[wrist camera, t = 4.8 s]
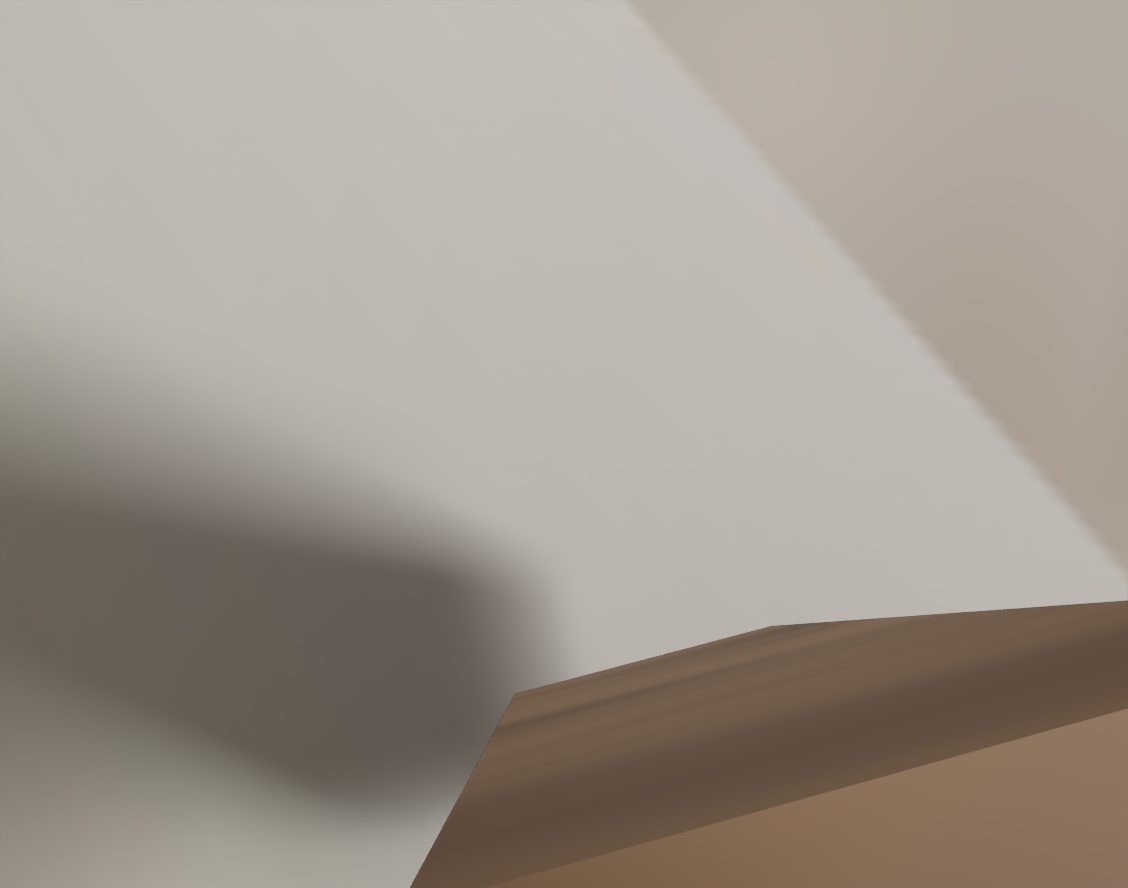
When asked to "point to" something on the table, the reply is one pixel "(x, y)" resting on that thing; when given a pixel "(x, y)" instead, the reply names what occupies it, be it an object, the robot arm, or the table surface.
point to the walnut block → (817, 762)
